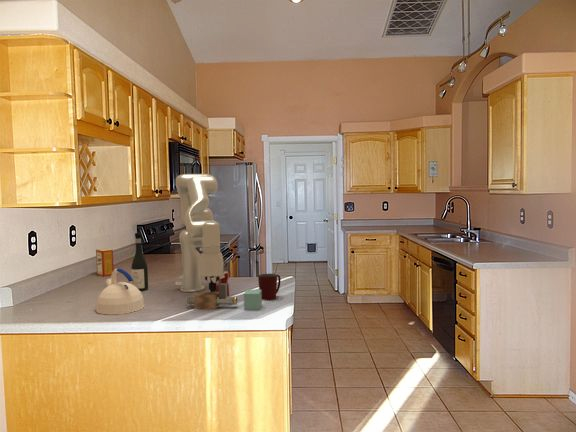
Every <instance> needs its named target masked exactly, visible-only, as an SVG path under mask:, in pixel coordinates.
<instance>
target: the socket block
mask: <svg viewBox="0 0 576 432" xmlns="http://www.w3.org/2000/svg"><path fill="white" fill-rule="evenodd" d="M262 301H263V300H262V295H261V290H259V289H246V290H245V291H244V292H243V309H244V311H260V309H261V307H262V305H263V304H262Z"/></svg>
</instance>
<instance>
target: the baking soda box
mask: <svg viewBox="0 0 576 432" xmlns="http://www.w3.org/2000/svg"><path fill="white" fill-rule="evenodd" d="M95 260H96V275H97V276H101V277H111V275H112V272H113V271H114V270H115V269H114V249H109V248H100V249H99V248H98V249H95Z"/></svg>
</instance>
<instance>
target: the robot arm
mask: <svg viewBox="0 0 576 432" xmlns="http://www.w3.org/2000/svg"><path fill="white" fill-rule="evenodd" d="M175 186H176V192H177V193H178V196H179V200H180V215H181V216H180V217H181V223H182V225H183V226H185V229H183V230H181V231H180V233H179V243H180V248H181V249H180V250H181V266H182V268H181V269H182V280H181V281H175V283H174V284H175V286H176V287H180V288H179V291H180V292H184V293H195V292H196V293H198V292H202V291H203V290H205V289H206V288H205V285H202V284H203V283H202V279H203V280H206V282H207V283H208V290H209V292H215V290H216V282H217V281H218V280H219V279H222V278H224V277H225V276H224V271H225V263H224V257H223V253H222V252H221V235H220V234H221V233H220V232H221V231H220V227H221V226H220V223H219V222H217V221H216V220H214V218H213V212H212V210H211V209H210V208H209V206H210V199H209V194H216V193H217V191H218V180H217V179H216V178H215V176H214V175H211V174H209V173H183V174H179V175H177V177H176V178H175ZM196 248H199V251H201V252H202V253H200V252H199V251H198V250H197V249H196Z"/></svg>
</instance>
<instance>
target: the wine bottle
mask: <svg viewBox="0 0 576 432" xmlns="http://www.w3.org/2000/svg"><path fill="white" fill-rule="evenodd" d="M141 236H142V233H141V232H135V233H134V238H135V254H134V257H133V259H132V263H131V266H130V267H131V268H130V269H131V277H132V279H133V280H134V281H131V284H132V285H134V286H135V287H137V288H138V289H139V291H140V292H142V291H147V290H148V289H149V276H148V275H149V272H148V263H147V261H146V259H145V256H144V254H143V252H142V250H143V249H142V237H141Z"/></svg>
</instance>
